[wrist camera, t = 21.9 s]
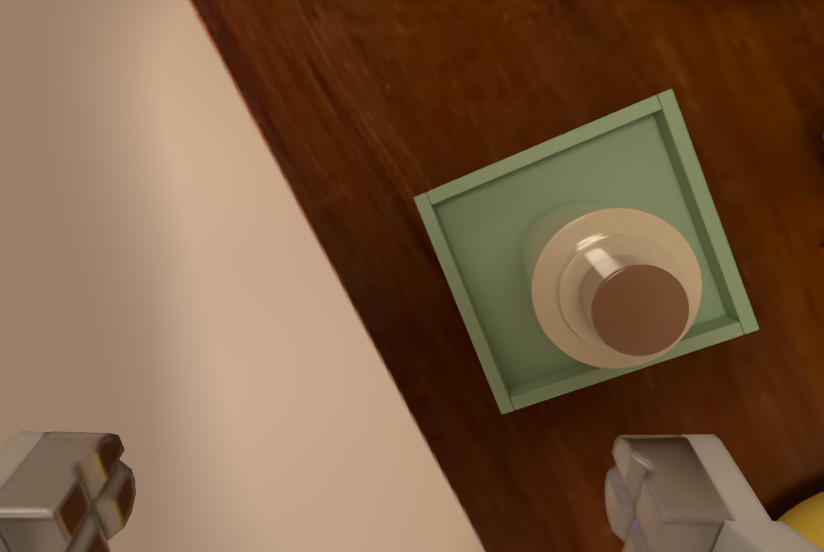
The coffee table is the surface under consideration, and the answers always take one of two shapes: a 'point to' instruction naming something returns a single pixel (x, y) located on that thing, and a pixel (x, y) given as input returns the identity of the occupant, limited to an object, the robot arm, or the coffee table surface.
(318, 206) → the coffee table surface
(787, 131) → the coffee table surface
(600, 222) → the bottle
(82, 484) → the robot arm
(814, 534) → the teapot
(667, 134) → the tray
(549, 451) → the coffee table surface
